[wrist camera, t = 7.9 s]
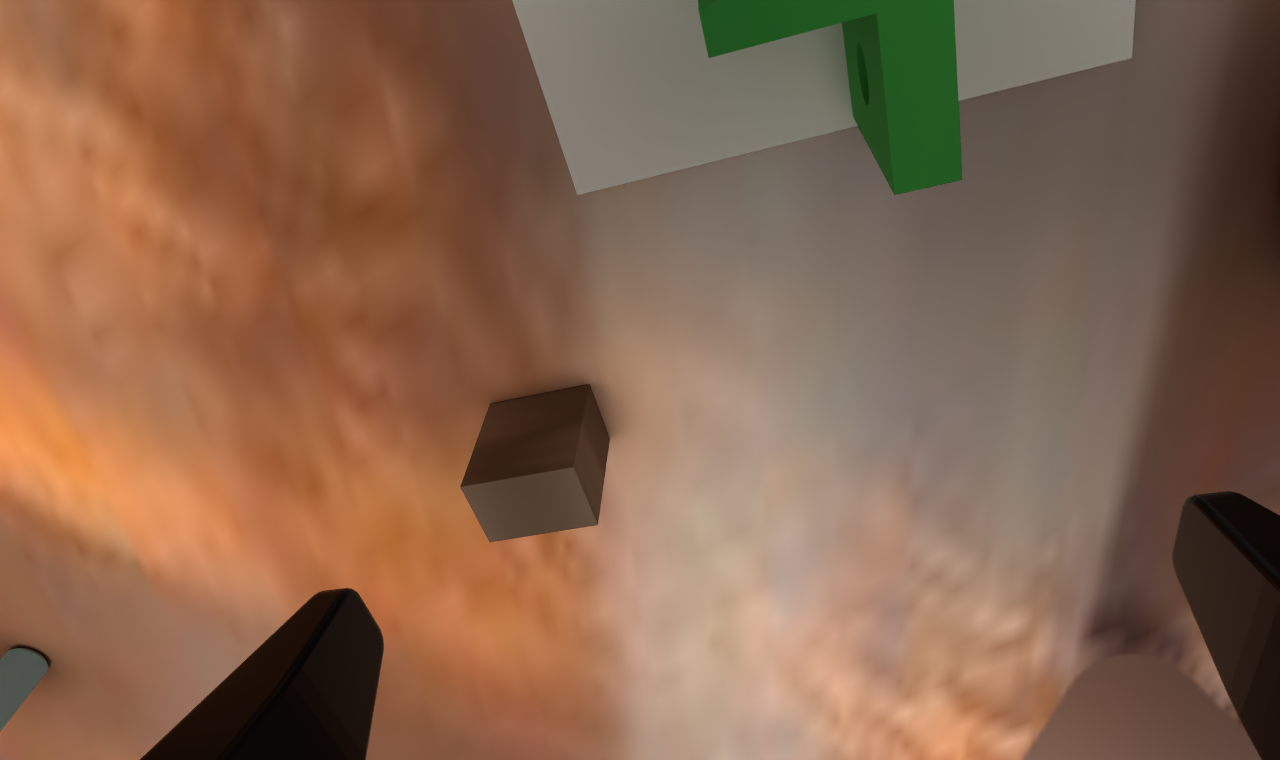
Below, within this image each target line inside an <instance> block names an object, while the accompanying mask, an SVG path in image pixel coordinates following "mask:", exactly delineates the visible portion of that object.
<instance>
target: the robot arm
mask: <svg viewBox="0 0 1280 760" xmlns="http://www.w3.org/2000/svg"><path fill="white" fill-rule="evenodd" d="M1172 560H1173V566H1174V570H1175V574H1176V576H1177V579H1178V581H1179V583H1180V586H1181V588H1182V590H1183V592H1184V595H1185V597H1186V599H1187V602H1188V604H1189V606H1190V609H1191V611H1192V613H1193V615H1194V618H1195V620H1196V622H1197V625H1198V627H1199V629H1200V632H1201V634H1202V636H1203V639H1204V641H1205V643H1206V645H1207V648H1208V650H1209V652H1210V655H1211V657H1212V659H1213V662H1214V664H1215V666H1216V668H1217V671H1218V673H1219V675H1220V678H1221V680H1222V682H1223V685H1224V687H1225V689H1226V691H1227V694H1228V696H1229V698H1230V700H1231V702H1232V705H1233V707H1234V709H1235V711H1236V713H1237V715H1238V717H1239V719H1240V721H1241V723H1242V725H1243V727H1244V729H1245V730H1246V732H1247V734H1248V736H1249V738H1250V740H1251V742H1252V743H1253V745H1254V747H1255V749H1256V750H1257V752H1258V754H1259V756H1260V757H1261V759H1262V760H1280V515H1278V514H1276V513H1274V512H1272V511H1271V510H1269V509H1267V508H1265V507H1263V506H1262V505H1260V504H1258V503H1256V502H1254V501H1253V500H1251V499H1249V498H1247V497H1245V496H1243V495H1241V494H1239V493H1236V492H1230V491H1226V492H1216V493H1207V494H1198V495H1193V496H1190V497H1188V498H1187V499H1186V501H1185V502H1184V504H1183V507H1182V511H1181V515H1180V519H1179V524H1178V528H1177V533H1176V537H1175V542H1174V546H1173V552H1172ZM383 650H384V642H383V636H382V633H381V630H380V628H379V626H378V625H377V623H376V621H375V620H374V618H373V617H372V615H371V613H370V612H369V610H368V608H367V607H366V605H365V603H364V602H363V600H362V598H361V597H360V595H359V594H358V593H357V592H356V591H354V590H353V589H349V588H344V589H335V590H326V591H321V592H319V593H317V594H315V595H314V596H313V597H312V598H311V599H310V600H308V601H307V602H306V603H305V604H304V605H303V606H302V607H301V608H300V609H299V610H298V611H297V612H296V613H295V614H294V615H293V616H292V617H290V618H289V619H288V620H287V621H286V622H285V623H284V624H283V625H282V626H281V627H280V628H279V629H278V630H277V631H276V632H275V633H274V634H272V635H271V636H270V637H269V638H268V639H267V640H266V641H265V642H264V643H263V644H262V645H261V646H260V647H259V648H258V649H257V650H256V651H254V652H253V653H252V654H251V655H250V656H249V657H248V658H247V659H246V660H245V661H244V662H243V663H242V664H241V665H240V666H239V667H238V668H236V669H235V670H234V671H233V672H232V673H231V674H230V675H229V676H228V677H227V678H226V679H225V680H224V681H223V682H222V683H221V684H219V685H218V686H217V687H216V688H215V689H214V690H213V691H212V692H211V693H210V694H209V695H208V696H207V697H206V698H205V699H204V700H203V701H201V702H200V703H199V704H198V705H197V706H196V707H195V708H194V709H193V710H192V711H191V712H190V713H189V714H188V715H187V716H186V717H185V718H183V719H182V720H181V721H180V722H179V723H178V724H177V725H176V726H175V727H174V728H173V729H172V730H171V731H170V732H169V733H168V734H167V735H165V736H164V737H163V738H162V739H161V740H160V741H159V742H158V743H157V744H156V745H155V746H154V747H153V748H152V749H151V750H150V751H149V752H147V753H146V754H145V755H144V756H143V757H142V758H141V759H140V760H366V755H367V749H368V743H369V737H370V731H371V725H372V718H373V712H374V706H375V700H376V694H377V688H378V682H379V676H380V670H381V664H382V658H383Z"/></svg>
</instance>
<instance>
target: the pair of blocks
mask: <svg viewBox="0 0 1280 760" xmlns="http://www.w3.org/2000/svg"><path fill="white" fill-rule="evenodd" d="M609 441H610V438H609V436H608V433H607V430H606V428H605V425H604V423H603V420H602V417H601V415H600V412H599V409H598V407H597V404H596V401H595V399H594V396H593V393H592V391H591V388H590V385H585V386H580V387H574V388H569V389H564V390H559V391H554V392H549V393H544V394H539V395H534V396H529V397H524V398H519V399H514V400H509V401H504V402H498V403H493V404H490V405H489V408H488V411H487V414H486V416H485V419H484V422H483V425H482V428H481V430H480V433H479V436H478V439H477V442H476V445H475V447H474V450H473V453H472V456H471V459H470V461H469V464H468V467H467V470H466V473H465V475H464V478H463V481H462V484H461V489H462V491H463V493H464V495H465V497H466V499H467V501H468V502H469V504H470V506H471V508H472V510H473V512H474V514H475V516H476V517H477V519H478V521H479V523H480V525H481V527H482V529H483V531H484V532H485V534H486V536H487V538H488V540H489V542H494V541H501V540H507V539H513V538H519V537H525V536H532V535H538V534H544V533H550V532H557V531H563V530H569V529H575V528H582V527H588V526H594V525H598V520H599V513H600V505H601V498H602V491H603V484H604V477H605V470H606V462H607V455H608V448H609Z"/></svg>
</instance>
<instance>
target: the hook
mask: <svg viewBox="0 0 1280 760" xmlns="http://www.w3.org/2000/svg"><path fill="white" fill-rule="evenodd" d="M47 671H48V664H47V661H46V660H45V658H44V657H43V656H42V655H41V654H39V653H37V652H36V651H34V650H30V649H27V648H16V649H11V650H8V651H7V652H6V653H5V654H4V655H3V656H2V658H1V659H0V731H1V730H2V729H3V727H4V726H5V725H6V723H7V722H8V721H9V720H10V718H11V717H12V716H13V714H14V713H15V712H16V711H17V709H18V708H19V707H20V705H21V704H22V703H23V702H24V700H25V699H26V698H27V696H28V695H29V694H30V693H31V691H32V690H33V689H34V687H35V686H36V685H37V684H38V682H39V681H40V680H41V678H42V677H43V676H44V675H45V673H46V672H47Z"/></svg>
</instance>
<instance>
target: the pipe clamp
mask: <svg viewBox="0 0 1280 760" xmlns="http://www.w3.org/2000/svg"><path fill="white" fill-rule="evenodd" d="M698 10H699V15H700V20H701V25H702V29H703V34H704V39H705V43H706V48H707V53H708V58H712V57H715V56H719V55H723V54H727V53H730V52H734V51H738V50H741V49H745V48H749V47H753V46H756V45H760V44H764V43H768V42H771V41H775V40H779V39H783V38H786V37H790V36H794V35H798V34H801V33H805V32H809V31H813V30H816V29H820V28H824V27H827V26H831V25H835V24H839V23H842V29H843V37H844V46H845V54H846V62H847V70H848V79H849V87H850V95H851V104H852V112H853V118H854V120H855V121H856V123H857V125H858V127H859V129H860V131H861V133H862V135H863V136H864V138H865V140H866V142H867V144H868V146H869V148H870V150H871V152H872V153H873V155H874V157H875V159H876V161H877V163H878V165H879V167H880V168H881V170H882V172H883V174H884V176H885V178H886V180H887V182H888V184H889V185H890V187H891V189H892V191H893V193H894V195H896V194H901V193H905V192H910V191H914V190H919V189H923V188H928V187H932V186H937V185H941V184H946V183H950V182H955V181H959V180H962V164H961V143H960V122H959V101H958V80H957V59H956V38H955V17H954V0H698Z"/></svg>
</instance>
